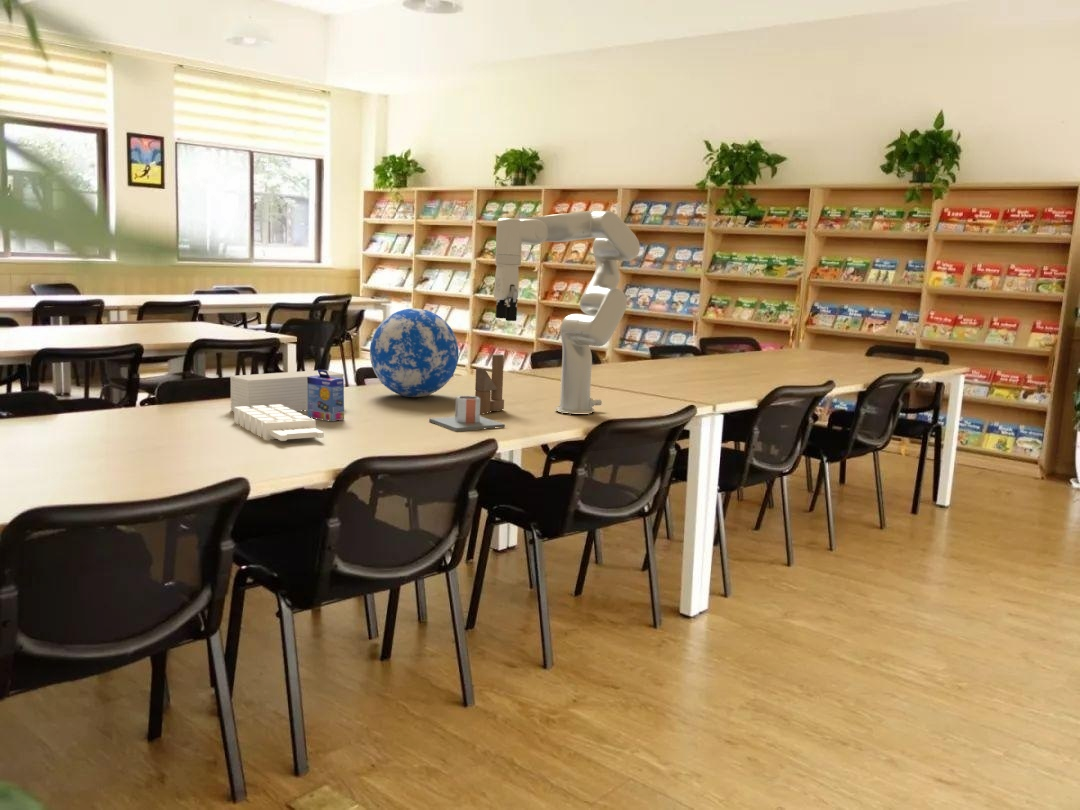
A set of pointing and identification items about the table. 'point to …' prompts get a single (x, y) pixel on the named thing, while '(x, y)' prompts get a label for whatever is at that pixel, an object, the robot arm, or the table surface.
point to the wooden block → (490, 386)
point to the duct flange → (465, 424)
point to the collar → (467, 409)
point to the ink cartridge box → (325, 397)
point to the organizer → (276, 422)
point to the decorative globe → (414, 352)
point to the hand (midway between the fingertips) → (506, 319)
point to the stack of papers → (273, 389)
